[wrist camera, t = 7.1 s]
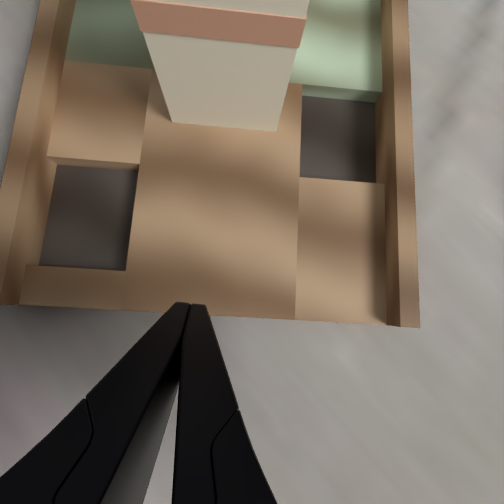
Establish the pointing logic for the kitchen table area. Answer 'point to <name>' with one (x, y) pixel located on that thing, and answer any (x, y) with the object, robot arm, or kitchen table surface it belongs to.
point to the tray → (214, 177)
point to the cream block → (223, 57)
